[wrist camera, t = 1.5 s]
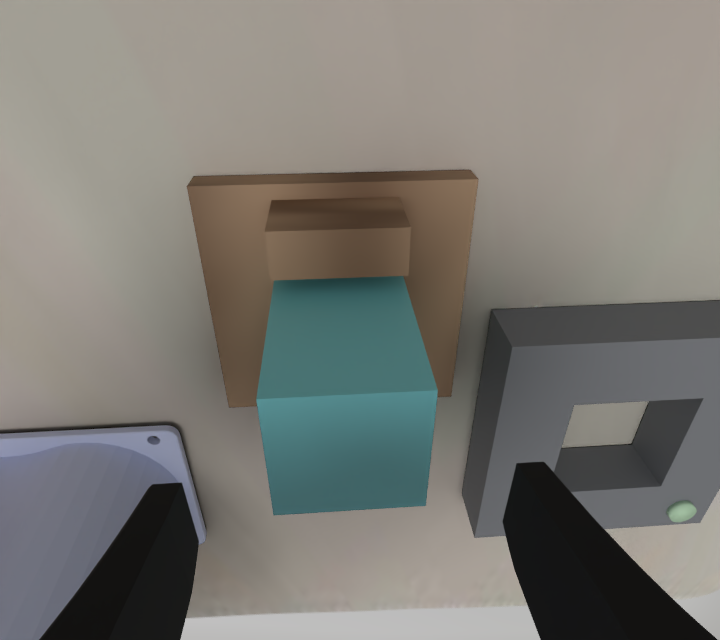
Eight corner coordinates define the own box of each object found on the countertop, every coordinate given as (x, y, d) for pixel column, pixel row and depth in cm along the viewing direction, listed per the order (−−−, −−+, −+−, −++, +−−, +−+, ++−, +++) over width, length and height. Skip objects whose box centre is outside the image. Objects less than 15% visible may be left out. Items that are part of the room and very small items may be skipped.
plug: (286, 354, 19) (273, 515, 13) (277, 258, 17) (256, 399, 11) (392, 349, 19) (425, 506, 13) (396, 254, 17) (437, 390, 11)
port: (461, 493, 26) (476, 543, 23) (491, 309, 20) (515, 351, 17) (669, 480, 26) (703, 528, 24) (759, 298, 20) (816, 338, 18)
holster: (232, 391, 21) (219, 455, 18) (193, 176, 16) (166, 216, 13) (445, 380, 22) (466, 441, 19) (470, 169, 17) (502, 207, 14)
